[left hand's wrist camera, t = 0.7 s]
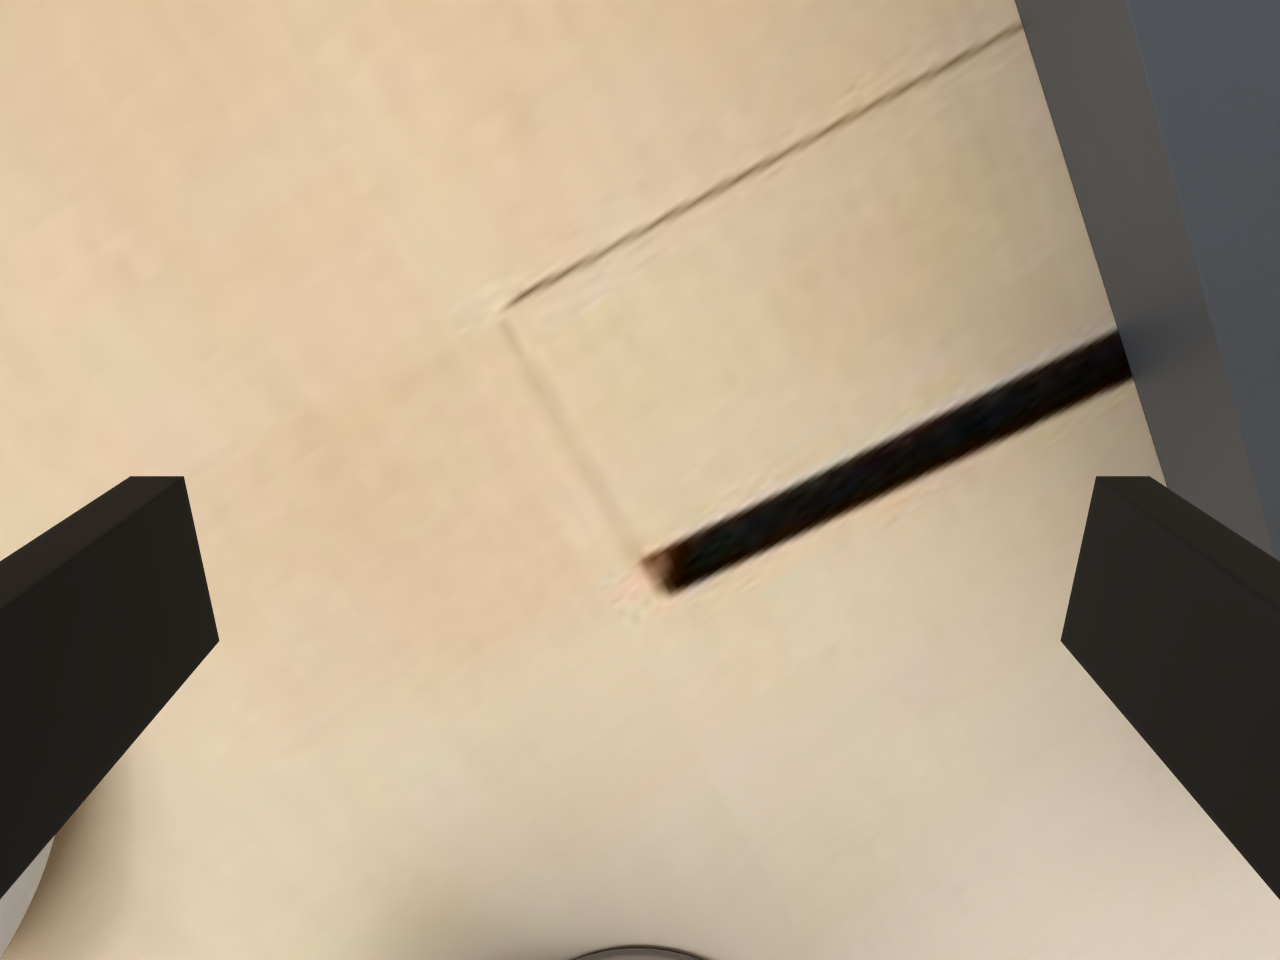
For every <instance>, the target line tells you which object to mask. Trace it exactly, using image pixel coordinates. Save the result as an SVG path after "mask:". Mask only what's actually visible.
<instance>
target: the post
mask: <svg viewBox="0 0 1280 960" xmlns="http://www.w3.org/2000/svg"><path fill="white" fill-rule="evenodd" d="M1015 2H1016V5H1017V8H1018V12H1019V15H1020V18H1021V21H1022V24H1023V28H1024V31H1025V34H1026V37H1027V40H1028V44H1029V47H1030V50H1031V53H1032V56H1033V59H1034V63H1035V66H1036V69H1037V72H1038V75H1039V79H1040V82H1041V85H1042V88H1043V91H1044V95H1045V98H1046V101H1047V104H1048V107H1049V111H1050V114H1051V117H1052V120H1053V123H1054V126H1055V130H1056V133H1057V136H1058V139H1059V142H1060V146H1061V149H1062V152H1063V155H1064V158H1065V162H1066V165H1067V168H1068V171H1069V174H1070V178H1071V181H1072V184H1073V187H1074V190H1075V193H1076V197H1077V200H1078V203H1079V206H1080V209H1081V213H1082V216H1083V219H1084V222H1085V225H1086V229H1087V232H1088V235H1089V238H1090V241H1091V245H1092V248H1093V251H1094V254H1095V257H1096V260H1097V264H1098V267H1099V270H1100V273H1101V276H1102V280H1103V283H1104V286H1105V289H1106V292H1107V296H1108V299H1109V302H1110V305H1111V308H1112V312H1113V315H1114V318H1115V321H1116V324H1117V327H1118V331H1119V334H1120V337H1121V340H1122V343H1123V347H1124V350H1125V353H1126V356H1127V359H1128V363H1129V366H1130V369H1131V372H1132V375H1133V379H1134V382H1135V385H1136V388H1137V391H1138V394H1139V398H1140V401H1141V404H1142V407H1143V410H1144V414H1145V417H1146V420H1147V423H1148V426H1149V430H1150V433H1151V436H1152V439H1153V442H1154V446H1155V449H1156V452H1157V455H1158V458H1159V461H1160V465H1161V468H1162V471H1163V474H1164V477H1165V481H1166V484H1167V487H1168V489H1170V490H1171V491H1173V492H1174V493H1176V494H1177V495H1179V496H1180V497H1182V498H1183V499H1185V500H1186V501H1188V502H1189V503H1191V504H1193V505H1194V506H1196V507H1197V508H1199V509H1200V510H1202V511H1203V512H1205V513H1206V514H1208V515H1209V516H1211V517H1212V518H1214V519H1216V520H1217V521H1219V522H1220V523H1222V524H1223V525H1225V526H1226V527H1228V528H1229V529H1231V530H1232V531H1234V532H1235V533H1237V534H1238V535H1240V536H1242V537H1243V538H1245V539H1246V540H1248V541H1249V542H1251V543H1252V544H1254V545H1255V546H1257V547H1258V548H1260V549H1261V550H1263V551H1265V552H1266V553H1268V554H1269V555H1271V556H1272V557H1274V558H1275V559H1277V560H1278V561H1280V0H1015Z"/></svg>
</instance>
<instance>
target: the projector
mask: <svg viewBox="0 0 1280 960" xmlns="http://www.w3.org/2000/svg"><path fill="white" fill-rule="evenodd" d="M54 837H55V836H54ZM54 837H53V838H52V839H51V840H50V841H49V843H48V844H47V845H46V846H45V847H44V848H43V850H42V851H41V852H40V853H39V854H38V856H37V857H36V858H35V859H34V860H33V861H32V863H31V864H30V865H29V866H28V867H27V869H26V870H25V871H24V872H23V873H22V874H21V876H20V877H19V878H18V879H17V880H16V882H15V883H14V884H13V885H12V886H11V887H10V889H9V890H8V891H7V892H6V893H5V895H4V896H3V897H2V898H1V899H0V958H1V956H2V955H3V953H4V951H5V950H6V948H7V947H8V945H9V943H10V942H11V940H12V938H13V936H14V934H15V933H16V931H17V929H18V927H19V925H20V923H21V922H22V920H23V918H24V916H25V914H26V912H27V909H28V907H29V905H30V903H31V901H32V899H33V897H34V894H35V892H36V890H37V888H38V885H39V882H40V880H41V877H42V875H43V872H44V869H45V867H46V864H47V861H48V858H49V854H50V851H51V847H52V844H53V841H54Z"/></svg>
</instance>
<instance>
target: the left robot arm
mask: <svg viewBox="0 0 1280 960" xmlns="http://www.w3.org/2000/svg"><path fill="white" fill-rule="evenodd" d="M218 642H219V637H218V633H217V628H216V623H215V619H214V614H213V609H212V605H211V600H210V596H209V591H208V586H207V582H206V577H205V572H204V568H203V563H202V558H201V554H200V549H199V545H198V540H197V535H196V531H195V526H194V521H193V517H192V512H191V508H190V503H189V498H188V494H187V489H186V484H185V480H184V476H130V477H129V478H127V479H126V480H124V481H123V482H121V483H120V484H118V485H117V486H115V487H114V488H112V489H110V490H109V491H107V492H106V493H104V494H103V495H101V496H100V497H98V498H97V499H95V500H94V501H92V502H91V503H89V504H87V505H86V506H84V507H83V508H81V509H80V510H78V511H77V512H75V513H74V514H72V515H71V516H69V517H68V518H66V519H65V520H63V521H61V522H60V523H58V524H57V525H55V526H54V527H52V528H51V529H49V530H48V531H46V532H45V533H43V534H42V535H40V536H38V537H37V538H35V539H34V540H32V541H31V542H29V543H28V544H26V545H25V546H23V547H22V548H20V549H19V550H17V551H15V552H14V553H12V554H11V555H9V556H8V557H6V558H5V559H3V560H2V561H0V899H1V898H2V897H3V896H4V895H5V893H6V892H7V891H8V890H9V889H10V887H11V886H12V885H13V884H14V883H15V882H16V880H17V879H18V878H19V877H20V876H21V874H22V873H23V872H24V871H25V870H26V869H27V867H28V866H29V865H30V864H31V863H32V861H33V860H34V859H35V858H36V857H37V856H38V854H39V853H40V852H41V851H42V850H43V848H44V847H45V846H46V845H47V844H48V843H49V841H50V840H51V839H52V838H53V837H54V836H55V834H56V833H57V832H58V831H59V830H60V828H61V827H62V826H63V825H64V824H65V823H66V821H67V820H68V819H69V818H70V817H71V815H72V814H73V813H74V812H75V811H76V810H77V808H78V807H79V806H80V805H81V804H82V802H83V801H84V800H85V799H86V798H87V797H88V795H89V794H90V793H91V792H92V791H93V789H94V788H95V787H96V786H97V785H98V784H99V782H100V781H101V780H102V779H103V778H104V776H105V775H106V774H107V773H108V772H109V771H110V769H111V768H112V767H113V766H114V765H115V763H116V762H117V761H118V760H119V759H120V758H121V756H122V755H123V754H124V753H125V752H126V750H127V749H128V748H129V747H130V746H131V745H132V743H133V742H134V741H135V740H136V739H137V737H138V736H139V735H140V734H141V733H142V732H143V730H144V729H145V728H146V727H147V726H148V724H149V723H150V722H151V721H152V720H153V719H154V717H155V716H156V715H157V714H158V713H159V711H160V710H161V709H162V708H163V707H164V706H165V704H166V703H167V702H168V701H169V700H170V698H171V697H172V696H173V695H174V694H175V693H176V691H177V690H178V689H179V688H180V687H181V685H182V684H183V683H184V682H185V681H186V680H187V678H188V677H189V676H190V675H191V674H192V672H193V671H194V670H195V669H196V668H197V667H198V665H199V664H200V663H201V662H202V661H203V659H204V658H205V657H206V656H207V655H208V654H209V652H210V651H211V650H212V649H213V648H214V647H215V645H216V644H217V643H218ZM1061 642H1062V643H1063V644H1064V645H1065V647H1066V648H1067V649H1068V650H1069V651H1070V652H1071V654H1072V655H1073V656H1074V657H1075V658H1076V659H1077V661H1078V662H1079V663H1080V664H1081V665H1082V667H1083V668H1084V669H1085V670H1086V671H1087V672H1088V674H1089V675H1090V676H1091V677H1092V678H1093V680H1094V681H1095V682H1096V683H1097V684H1098V685H1099V687H1100V688H1101V689H1102V690H1103V691H1104V693H1105V694H1106V695H1107V696H1108V697H1109V698H1110V700H1111V701H1112V702H1113V703H1114V704H1115V706H1116V707H1117V708H1118V709H1119V710H1120V711H1121V713H1122V714H1123V715H1124V716H1125V717H1126V719H1127V720H1128V721H1129V722H1130V723H1131V724H1132V726H1133V727H1134V728H1135V729H1136V730H1137V732H1138V733H1139V734H1140V735H1141V736H1142V737H1143V739H1144V740H1145V741H1146V742H1147V743H1148V745H1149V746H1150V747H1151V748H1152V749H1153V750H1154V752H1155V753H1156V754H1157V755H1158V756H1159V758H1160V759H1161V760H1162V761H1163V762H1164V763H1165V765H1166V766H1167V767H1168V768H1169V769H1170V771H1171V772H1172V773H1173V774H1174V775H1175V776H1176V778H1177V779H1178V780H1179V781H1180V782H1181V784H1182V785H1183V786H1184V787H1185V788H1186V789H1187V791H1188V792H1189V793H1190V794H1191V795H1192V797H1193V798H1194V799H1195V800H1196V801H1197V802H1198V804H1199V805H1200V806H1201V807H1202V808H1203V810H1204V811H1205V812H1206V813H1207V814H1208V815H1209V817H1210V818H1211V819H1212V820H1213V821H1214V823H1215V824H1216V825H1217V826H1218V827H1219V828H1220V830H1221V831H1222V832H1223V833H1224V834H1225V836H1226V837H1227V838H1228V839H1229V840H1230V841H1231V843H1232V844H1233V845H1234V846H1235V847H1236V848H1237V850H1238V851H1239V852H1240V853H1241V854H1242V856H1243V857H1244V858H1245V859H1246V860H1247V861H1248V863H1249V864H1250V865H1251V866H1252V867H1253V869H1254V870H1255V871H1256V872H1257V873H1258V874H1259V876H1260V877H1261V878H1262V879H1263V880H1264V882H1265V883H1266V884H1267V885H1268V886H1269V887H1270V889H1271V890H1272V891H1273V892H1274V893H1275V895H1276V896H1277V897H1278V898H1279V899H1280V561H1278V560H1277V559H1275V558H1274V557H1272V556H1271V555H1269V554H1268V553H1266V552H1265V551H1263V550H1261V549H1260V548H1258V547H1257V546H1255V545H1254V544H1252V543H1251V542H1249V541H1248V540H1246V539H1245V538H1243V537H1242V536H1240V535H1238V534H1237V533H1235V532H1234V531H1232V530H1231V529H1229V528H1228V527H1226V526H1225V525H1223V524H1222V523H1220V522H1219V521H1217V520H1216V519H1214V518H1212V517H1211V516H1209V515H1208V514H1206V513H1205V512H1203V511H1202V510H1200V509H1199V508H1197V507H1196V506H1194V505H1193V504H1191V503H1189V502H1188V501H1186V500H1185V499H1183V498H1182V497H1180V496H1179V495H1177V494H1176V493H1174V492H1173V491H1171V490H1170V489H1168V488H1166V487H1165V486H1163V485H1162V484H1160V483H1159V482H1157V481H1156V480H1154V479H1153V478H1151V477H1150V476H1096V480H1095V485H1094V489H1093V494H1092V498H1091V503H1090V508H1089V512H1088V517H1087V522H1086V526H1085V531H1084V535H1083V540H1082V545H1081V549H1080V554H1079V559H1078V563H1077V568H1076V572H1075V577H1074V582H1073V586H1072V591H1071V596H1070V600H1069V605H1068V609H1067V614H1066V619H1065V623H1064V628H1063V633H1062V637H1061ZM576 960H698V959H696V958H693V957H690V956H687V955H684V954H680V953H676V952H671V951H666V950H659V949H647V948H627V949H616V950H609V951H603V952H598V953H594V954H590V955H587V956H584V957H581V958H578V959H576Z"/></svg>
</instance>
